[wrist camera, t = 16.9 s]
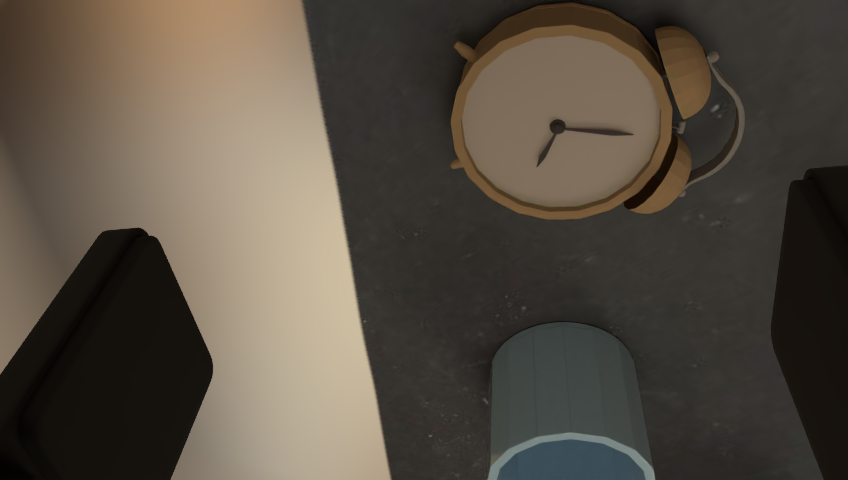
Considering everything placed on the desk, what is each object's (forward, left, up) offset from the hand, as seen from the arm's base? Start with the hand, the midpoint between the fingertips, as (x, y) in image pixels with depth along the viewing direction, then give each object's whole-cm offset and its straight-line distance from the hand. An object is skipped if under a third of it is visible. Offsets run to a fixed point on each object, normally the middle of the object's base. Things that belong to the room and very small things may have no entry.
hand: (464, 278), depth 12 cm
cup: (+30, -16, -30) cm, 46 cm away
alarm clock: (+13, -3, -31) cm, 33 cm away
